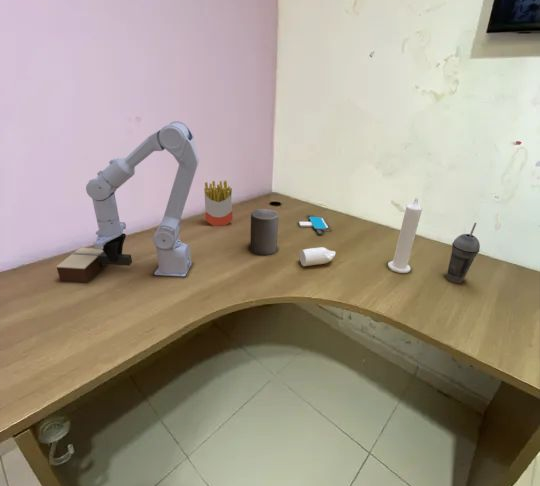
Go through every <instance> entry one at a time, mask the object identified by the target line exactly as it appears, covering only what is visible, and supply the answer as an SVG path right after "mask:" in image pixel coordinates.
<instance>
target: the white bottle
mask: <svg viewBox="0 0 540 486" xmlns="http://www.w3.org/2000/svg"><path fill="white" fill-rule="evenodd" d="M298 255H299V262H300V264H301V266H302V267H309V266H317V265H323V264H324V265H325V264H328V263H329V262H331V261H332V260H333V259H334V258H335V256H336V251H334V250H330V249H328V248H326V247H324V246H321V247H311V248H310V247H309V248H305V249H301V250H299V253H298Z"/></svg>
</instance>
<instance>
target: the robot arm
mask: <svg viewBox="0 0 540 486" xmlns="http://www.w3.org/2000/svg"><path fill="white" fill-rule="evenodd" d="M164 150H166V151H167V152H168V153H169V154H171V155H172V156H173V158H174V159H175V160H176V162H177V163H178V167H177V170H176V174H175V177H174V181H173V184H172V187H171V192H170V194H169V197H168V200H167V204H166V207H165V211H164V215H163V217H162V219H161V221H160V224H159V225H158V228H157V230H156V231H155V232H154V233H153V236H152V242H153V245H154V246H155V248H156V255H157V264H158V267H157V269H156V270H155V271H154V275H155V276H167V277H181V278H182V277H184V278H185V277H186V276H187V274H188V272H189V270H190V268H191V267H192V264H193V263H192V256H191V246H190V245H189V244H187V243H184V242H182V240H181V239H180V236H179V234H180V232H181V230H182V226H181V219H182V215H183V212H184V210H185V206H186V202H187V199H188V197H189V194H190V191H191V187H192V184H193V181H194V178H195V175H196V171H197V168H198V166H199V164H200V163H199V162H200V158H199V154H198V151H197V147H196V143H195V138H194V134H193V133H192V131H191V129H190V128H189V127H188V126H187V124H186V123H184V122H182V121H179V120H178V121H177V120H176V121H172V122H170V123H169V124H167V125H164V126H163V127H161V129H159V130H157V131H155V132H154V133H152V134H150V135H149V136H147V137H146V138H145V139H144V140H143V141H142V142H141V143H139V145H137V147H135V149H134V150H132V151H131V152H130V153H129V154H128V155H127V156H126V157H117V158H112V159H111V160H110V161H108V165H107V166H106V167H105V168H104V169H102V170H99V171H98V172H97V173H96V175H97V176H95V177H94V178H92V179H90V180H88V182H87V184H86V186H85V191H86V194H87V195H88V196H89V197H90V198H91V200H92V204H93V209H94V214H95V218H96V223H97V228H98V230H97V231H96V232H95V235H97V237H96V239H95V241H94V242H93V247H94V249H101V250H103V251H104V252H105V254H106V255H107V257H108V259H109V261H110V262H117V261H118V254H123V250H124V249H123V248H124V242H125V240H126V237H127V234H126V233H123V232H124V230H126V229H127V223H126V222H125V221H120V216H119V215H120V214H119V209H118V205H117V199H116V194H115V193H116V191H117V190H118V189H119V188H121V186H123V185H124V184H126V182H127V181H128V180H130V179H131V178H132V177H133V176H135V173H136V170H135V169H136V166H138V165H139V164H140V163H141V162H143V161H144V160H145V159H147V158H148V157H149V156H150V155H151V154H153V153H154V152H163V151H164Z"/></svg>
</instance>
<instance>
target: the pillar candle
mask: <svg viewBox="0 0 540 486" xmlns="http://www.w3.org/2000/svg"><path fill="white" fill-rule="evenodd" d="M279 215H280V214H279V213H278V212H277V211H276V210H273V209H270V208H258V209H254V210H252V211H251V213H250V240H249V241H250V242H249V243H250V247H249V250H250V252H252V253H253V254H256V255H259V256H269V255H273V254H274V253H276V251H277V247H278V235H279V233H278V232H279V230H278V229H279Z"/></svg>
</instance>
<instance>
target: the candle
mask: <svg viewBox="0 0 540 486" xmlns="http://www.w3.org/2000/svg"><path fill="white" fill-rule="evenodd" d="M404 210H405V211H404V214H403V218H402V222H401V227H400V230H399V236H398V239H397V243H396V248H395V251H394V255H393V260H391V261H389V262H388V263H387V267H388V269H390V270H391V271H393V272H394V273H395V272H396V273H398V274H408V273H410V272H411V269H412V268H411V266H410V265H409V260H410V256H411V253H412V252H411V251H412V249H413V245H414V241H415V237H416V235H417V230H418V226H419V223H420V220H421V215H422V212H423V207H422V206H421V205H420V204H419V196H415V198H414V200H413V201H412V202H410V203H409V204H407V205H406V206H405V209H404Z"/></svg>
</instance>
